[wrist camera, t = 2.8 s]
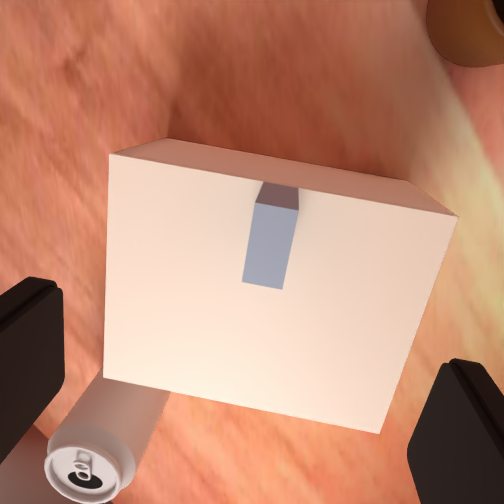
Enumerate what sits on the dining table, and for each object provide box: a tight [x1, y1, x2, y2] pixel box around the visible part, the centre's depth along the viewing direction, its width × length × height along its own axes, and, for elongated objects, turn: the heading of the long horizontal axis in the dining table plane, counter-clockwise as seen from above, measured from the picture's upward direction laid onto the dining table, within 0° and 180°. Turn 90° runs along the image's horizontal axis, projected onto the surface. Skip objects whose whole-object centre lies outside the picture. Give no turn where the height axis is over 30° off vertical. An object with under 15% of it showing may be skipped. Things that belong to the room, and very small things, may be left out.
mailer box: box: [115, 138, 454, 214], centre depth 31 cm, size 16×20×10 cm
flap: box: [103, 153, 459, 434], centre depth 23 cm, size 16×20×6 cm
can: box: [44, 365, 170, 504], centre depth 36 cm, size 8×8×12 cm
